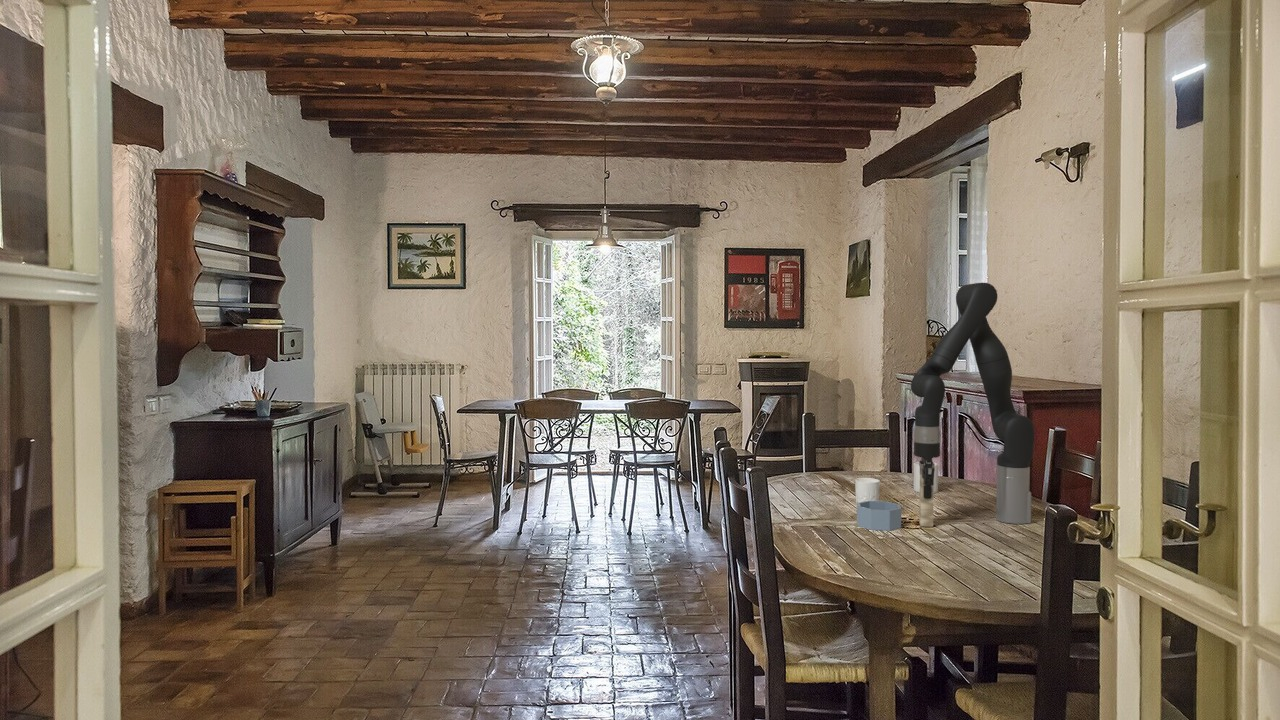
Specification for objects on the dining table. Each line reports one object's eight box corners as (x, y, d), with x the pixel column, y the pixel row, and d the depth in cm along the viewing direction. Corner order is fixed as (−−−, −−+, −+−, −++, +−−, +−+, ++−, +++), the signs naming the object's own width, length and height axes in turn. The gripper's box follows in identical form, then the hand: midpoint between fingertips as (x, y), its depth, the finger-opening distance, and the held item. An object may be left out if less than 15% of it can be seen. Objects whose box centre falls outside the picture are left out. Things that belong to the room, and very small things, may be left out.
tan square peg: (931, 523, 243) (931, 475, 243) (933, 526, 240) (933, 477, 239) (919, 523, 244) (919, 474, 243) (920, 526, 241) (921, 477, 240)
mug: (912, 486, 298) (912, 459, 298) (935, 487, 296) (936, 460, 295) (914, 493, 287) (914, 465, 286) (938, 494, 284) (939, 466, 284)
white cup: (852, 511, 260) (852, 481, 260) (857, 506, 267) (857, 477, 267) (876, 514, 257) (877, 483, 256) (881, 509, 264) (882, 479, 263)
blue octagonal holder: (897, 520, 248) (898, 501, 247) (902, 531, 235) (902, 511, 235) (855, 519, 250) (856, 500, 250) (858, 529, 238) (858, 509, 238)
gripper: (944, 444, 233) (943, 502, 234) (936, 437, 247) (935, 492, 248) (917, 443, 235) (916, 501, 235) (911, 436, 248) (910, 491, 249)
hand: (926, 496), depth 242 cm, fingers closed on tan square peg, 3 cm apart
